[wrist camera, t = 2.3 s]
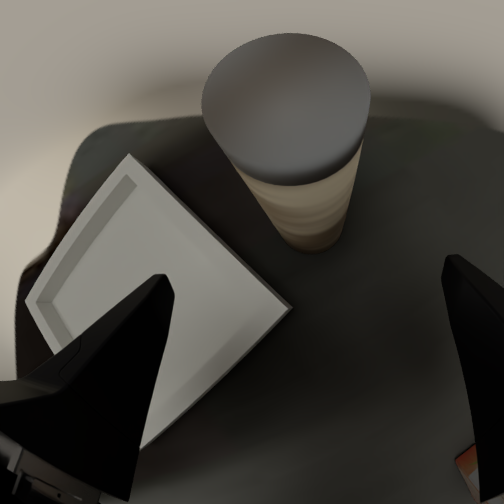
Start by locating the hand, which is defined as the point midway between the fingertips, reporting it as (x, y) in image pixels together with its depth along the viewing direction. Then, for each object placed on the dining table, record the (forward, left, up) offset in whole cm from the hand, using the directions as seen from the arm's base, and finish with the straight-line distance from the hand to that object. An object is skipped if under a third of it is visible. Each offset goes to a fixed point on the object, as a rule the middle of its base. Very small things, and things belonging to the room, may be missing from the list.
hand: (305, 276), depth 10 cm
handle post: (+3, -3, -11) cm, 12 cm away
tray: (+8, +10, -11) cm, 17 cm away
